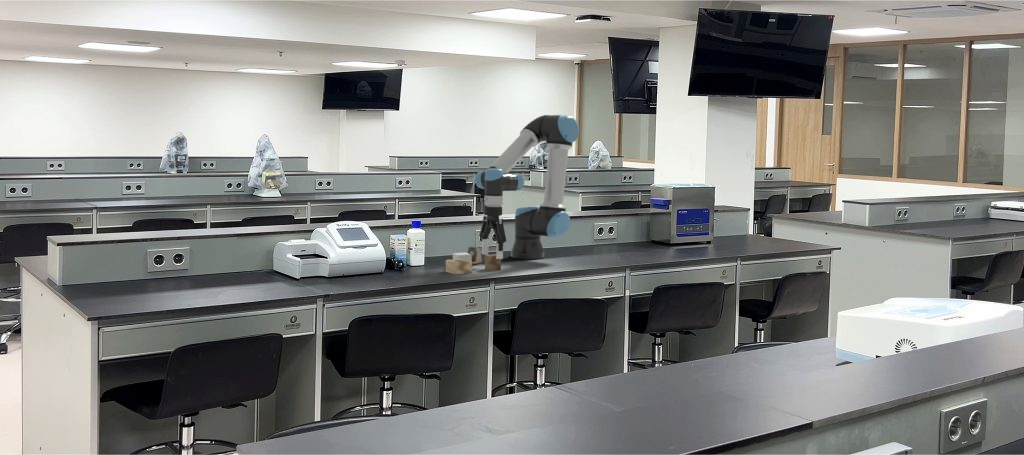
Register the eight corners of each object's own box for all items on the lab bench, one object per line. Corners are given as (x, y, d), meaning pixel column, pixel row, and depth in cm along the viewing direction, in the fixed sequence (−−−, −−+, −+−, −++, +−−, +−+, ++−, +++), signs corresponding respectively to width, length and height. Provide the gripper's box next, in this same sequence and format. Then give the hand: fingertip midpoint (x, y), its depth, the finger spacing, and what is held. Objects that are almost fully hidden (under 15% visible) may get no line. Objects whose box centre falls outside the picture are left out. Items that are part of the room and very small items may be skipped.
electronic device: (464, 265, 400) (464, 247, 400) (472, 262, 409) (472, 245, 409) (473, 265, 399) (474, 248, 398) (481, 262, 408) (482, 245, 407)
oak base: (462, 270, 387) (462, 258, 387) (472, 273, 380) (472, 261, 380) (445, 272, 383) (445, 259, 383) (454, 274, 376) (454, 262, 376)
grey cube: (465, 266, 397) (465, 252, 397) (471, 268, 392) (471, 254, 391) (452, 267, 395) (452, 253, 394) (458, 269, 389) (458, 255, 389)
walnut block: (495, 268, 393) (495, 254, 393) (500, 269, 389) (500, 255, 388) (484, 268, 391) (484, 254, 390) (490, 270, 387) (490, 256, 386)
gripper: (472, 203, 396) (471, 253, 398) (498, 208, 374) (497, 260, 376) (488, 203, 400) (487, 252, 402) (515, 208, 378) (513, 260, 380)
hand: (492, 256), depth 389 cm, fingers open, 13 cm apart
